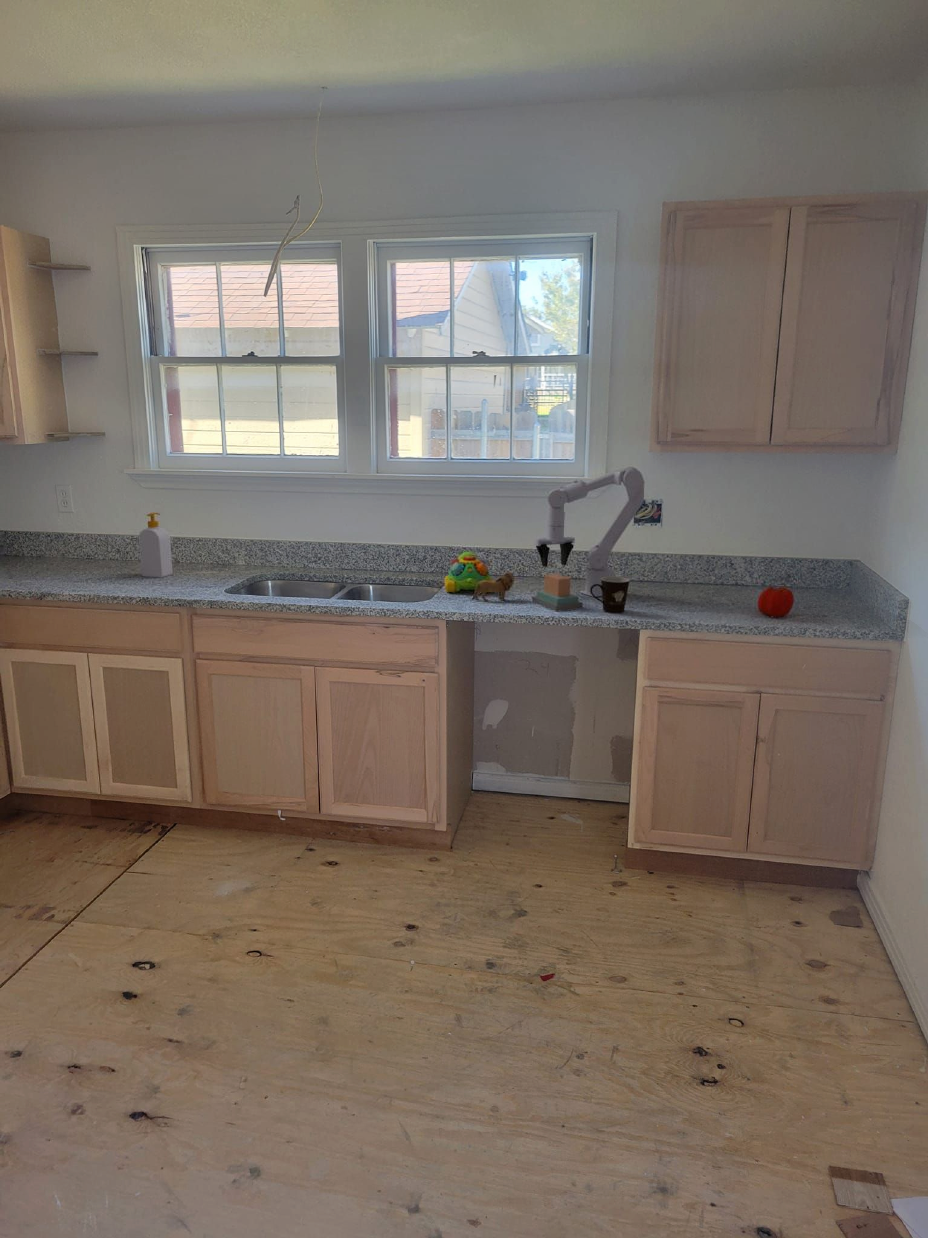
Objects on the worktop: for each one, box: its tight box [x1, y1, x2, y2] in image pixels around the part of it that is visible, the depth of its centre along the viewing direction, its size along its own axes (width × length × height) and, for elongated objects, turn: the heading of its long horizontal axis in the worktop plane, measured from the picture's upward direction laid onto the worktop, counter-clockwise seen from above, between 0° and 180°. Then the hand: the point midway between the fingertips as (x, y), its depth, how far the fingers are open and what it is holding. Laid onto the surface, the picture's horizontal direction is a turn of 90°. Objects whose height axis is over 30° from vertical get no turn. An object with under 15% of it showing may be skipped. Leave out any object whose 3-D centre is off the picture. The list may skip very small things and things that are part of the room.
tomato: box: [757, 586, 795, 618], centre depth 253 cm, size 11×11×9 cm
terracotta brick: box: [543, 573, 571, 597], centre depth 264 cm, size 4×8×6 cm, turn 27°
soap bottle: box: [138, 512, 174, 579], centre depth 302 cm, size 9×7×23 cm
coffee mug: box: [590, 576, 630, 614], centre depth 258 cm, size 12×9×10 cm
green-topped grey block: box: [531, 590, 584, 612], centre depth 265 cm, size 10×14×4 cm
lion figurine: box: [471, 571, 515, 602], centre depth 270 cm, size 15×5×9 cm, turn 109°
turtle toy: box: [443, 551, 493, 594], centre depth 288 cm, size 17×23×12 cm
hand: (554, 565), depth 281 cm, fingers open, 7 cm apart
